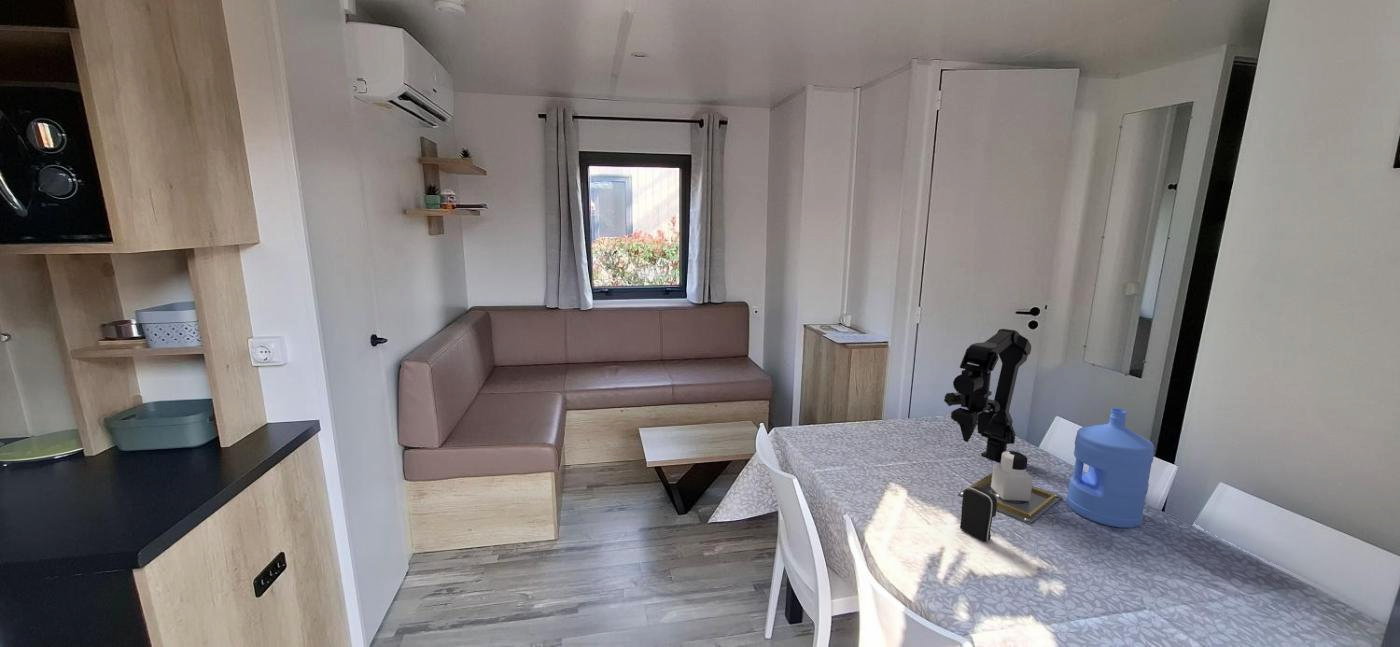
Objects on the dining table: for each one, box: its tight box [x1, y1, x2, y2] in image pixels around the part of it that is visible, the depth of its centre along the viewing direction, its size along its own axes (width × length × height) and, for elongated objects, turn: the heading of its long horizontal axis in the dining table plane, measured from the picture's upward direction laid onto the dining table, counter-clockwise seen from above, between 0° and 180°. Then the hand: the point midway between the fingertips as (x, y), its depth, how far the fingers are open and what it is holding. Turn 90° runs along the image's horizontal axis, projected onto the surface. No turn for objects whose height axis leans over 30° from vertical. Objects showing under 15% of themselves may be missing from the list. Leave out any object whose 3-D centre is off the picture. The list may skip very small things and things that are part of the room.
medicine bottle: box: [991, 450, 1034, 501], centre depth 139 cm, size 7×7×12 cm
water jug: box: [1066, 408, 1155, 529], centre depth 130 cm, size 16×16×28 cm
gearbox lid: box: [957, 472, 1063, 525], centre depth 140 cm, size 22×18×1 cm
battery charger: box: [959, 486, 997, 543], centre depth 121 cm, size 7×4×11 cm, turn 28°
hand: (973, 437), depth 151 cm, fingers open, 9 cm apart
